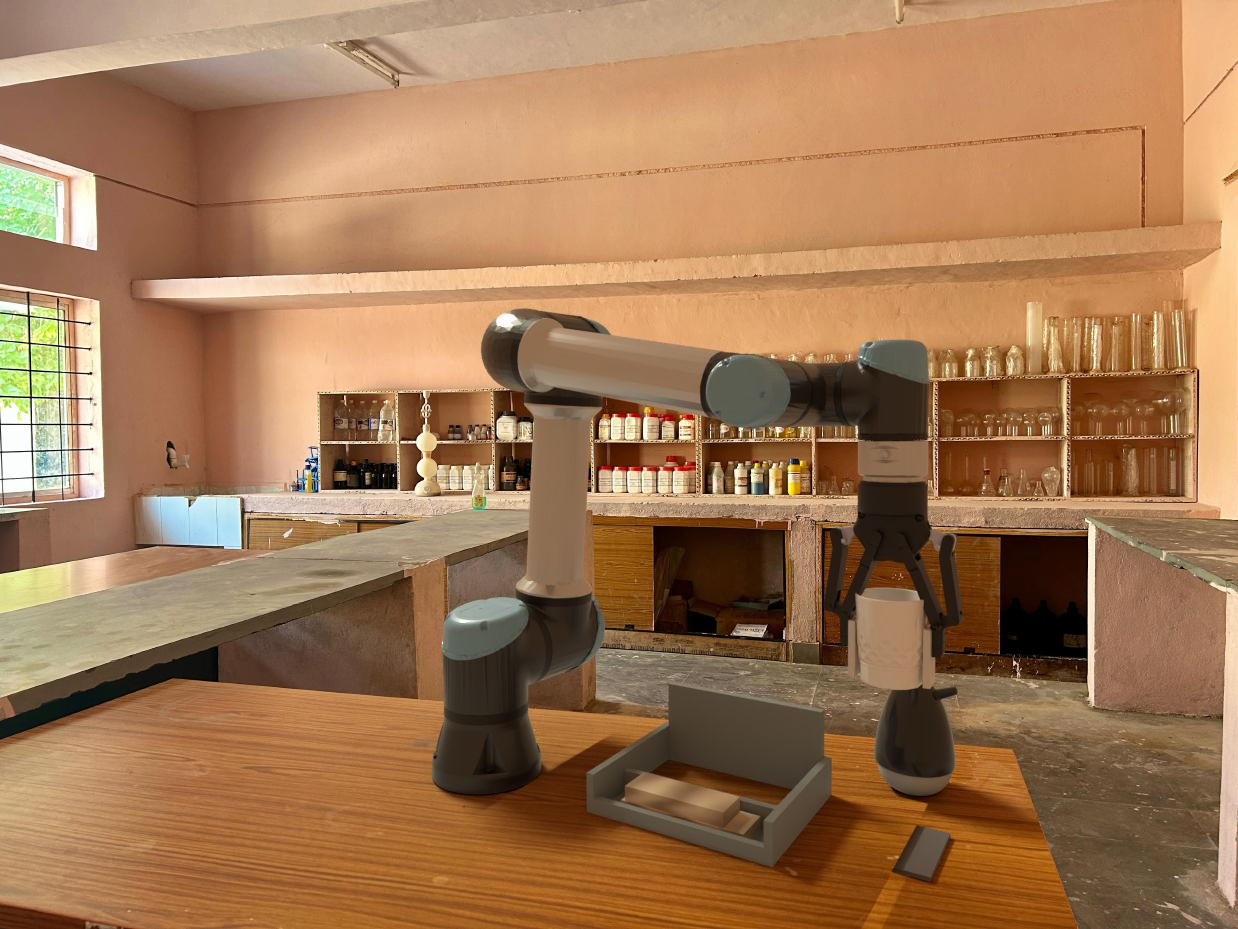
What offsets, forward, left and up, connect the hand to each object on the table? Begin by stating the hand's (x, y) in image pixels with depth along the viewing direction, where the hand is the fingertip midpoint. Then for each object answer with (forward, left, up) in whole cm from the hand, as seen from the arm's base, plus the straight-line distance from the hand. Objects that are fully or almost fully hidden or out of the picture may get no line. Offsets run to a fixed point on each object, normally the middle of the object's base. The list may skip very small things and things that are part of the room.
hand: (890, 679), depth 93 cm
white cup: (0, 0, 0) cm, 0 cm away
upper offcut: (-22, -9, -16) cm, 29 cm away
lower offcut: (-21, -9, -18) cm, 29 cm away
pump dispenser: (-1, +17, -20) cm, 26 cm away
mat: (0, 0, -19) cm, 19 cm away
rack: (-21, -3, -19) cm, 29 cm away
